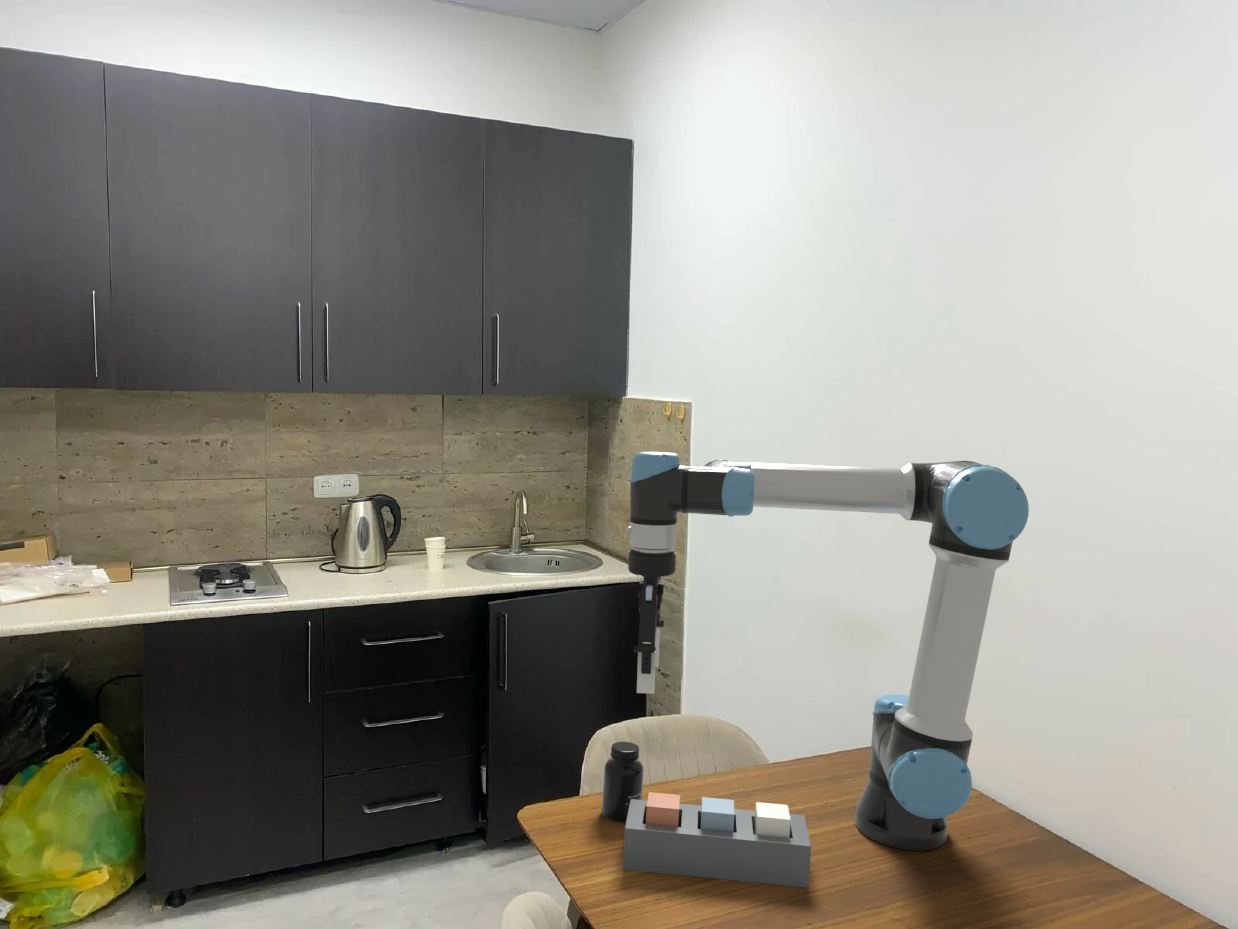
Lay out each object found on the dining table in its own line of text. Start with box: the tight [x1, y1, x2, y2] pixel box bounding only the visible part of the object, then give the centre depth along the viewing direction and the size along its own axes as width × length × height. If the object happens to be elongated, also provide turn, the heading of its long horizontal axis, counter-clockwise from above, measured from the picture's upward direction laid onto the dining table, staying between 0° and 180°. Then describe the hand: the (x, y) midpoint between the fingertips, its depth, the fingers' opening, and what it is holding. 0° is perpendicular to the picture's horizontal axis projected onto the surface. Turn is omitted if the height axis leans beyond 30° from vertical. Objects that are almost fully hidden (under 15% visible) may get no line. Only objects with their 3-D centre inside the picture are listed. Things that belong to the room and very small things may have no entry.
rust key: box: [646, 791, 681, 827], centre depth 142 cm, size 5×5×5 cm
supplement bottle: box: [601, 741, 644, 823], centre depth 155 cm, size 7×7×12 cm
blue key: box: [700, 796, 735, 832], centre depth 141 cm, size 5×5×5 cm
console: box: [622, 799, 812, 889], centre depth 141 cm, size 28×10×6 cm, turn 84°
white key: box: [754, 801, 791, 838], centre depth 140 cm, size 5×5×5 cm
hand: (648, 679), depth 145 cm, fingers open, 13 cm apart
